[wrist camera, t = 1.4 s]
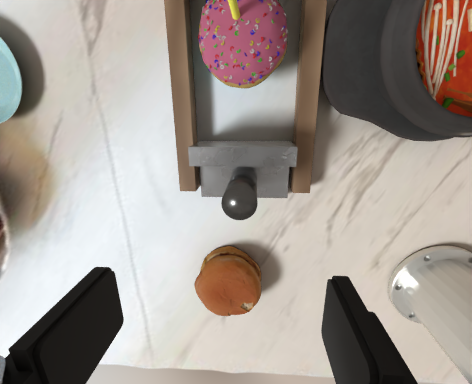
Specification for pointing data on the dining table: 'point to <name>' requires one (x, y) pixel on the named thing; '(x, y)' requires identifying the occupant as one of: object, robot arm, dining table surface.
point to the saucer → (9, 83)
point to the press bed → (305, 90)
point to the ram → (243, 172)
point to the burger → (229, 282)
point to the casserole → (401, 65)
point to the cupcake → (242, 40)
